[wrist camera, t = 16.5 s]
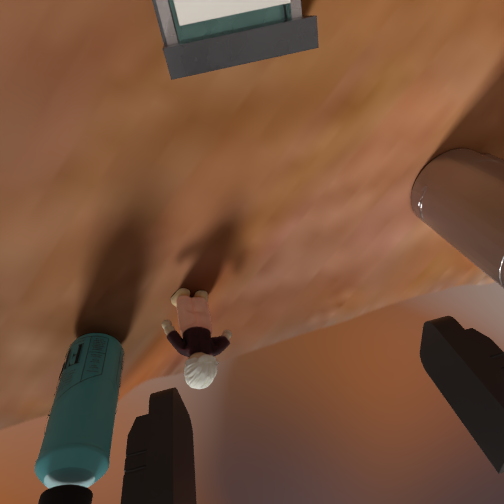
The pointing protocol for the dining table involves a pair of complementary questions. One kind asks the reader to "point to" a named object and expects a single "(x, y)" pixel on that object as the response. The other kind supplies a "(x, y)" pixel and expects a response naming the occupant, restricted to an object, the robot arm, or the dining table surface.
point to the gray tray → (233, 37)
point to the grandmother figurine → (196, 337)
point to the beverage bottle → (81, 421)
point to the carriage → (217, 8)
